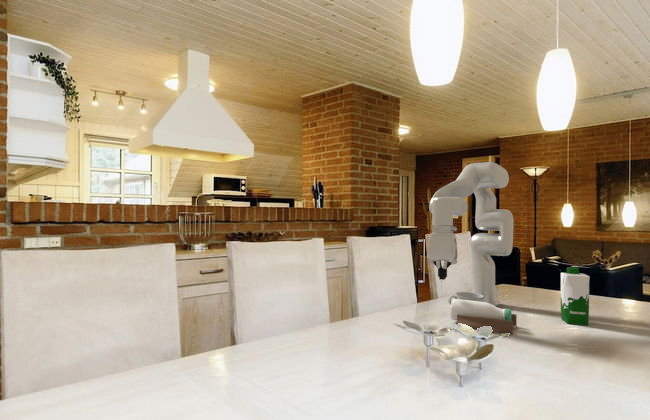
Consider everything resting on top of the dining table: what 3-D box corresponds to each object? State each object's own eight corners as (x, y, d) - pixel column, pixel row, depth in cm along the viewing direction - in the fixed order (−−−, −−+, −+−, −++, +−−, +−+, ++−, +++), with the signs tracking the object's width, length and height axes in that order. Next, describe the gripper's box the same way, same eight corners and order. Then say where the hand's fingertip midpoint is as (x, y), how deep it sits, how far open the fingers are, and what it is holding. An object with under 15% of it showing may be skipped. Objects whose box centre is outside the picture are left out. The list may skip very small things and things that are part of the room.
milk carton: (583, 320, 162) (583, 267, 162) (592, 326, 153) (592, 270, 153) (558, 318, 164) (558, 266, 164) (565, 324, 155) (565, 269, 155)
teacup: (479, 311, 175) (479, 292, 175) (486, 317, 164) (486, 297, 164) (444, 310, 177) (445, 291, 177) (450, 316, 166) (450, 295, 166)
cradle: (464, 320, 160) (464, 308, 160) (516, 326, 151) (516, 314, 151) (456, 327, 149) (457, 314, 149) (512, 335, 140) (512, 321, 140)
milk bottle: (450, 322, 154) (509, 330, 144) (449, 301, 154) (509, 307, 144) (455, 316, 161) (512, 323, 151) (454, 296, 161) (512, 302, 151)
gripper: (465, 230, 158) (465, 279, 158) (425, 229, 166) (425, 276, 166) (460, 231, 152) (460, 282, 152) (419, 230, 159) (419, 278, 159)
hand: (442, 278), depth 159 cm, fingers closed
